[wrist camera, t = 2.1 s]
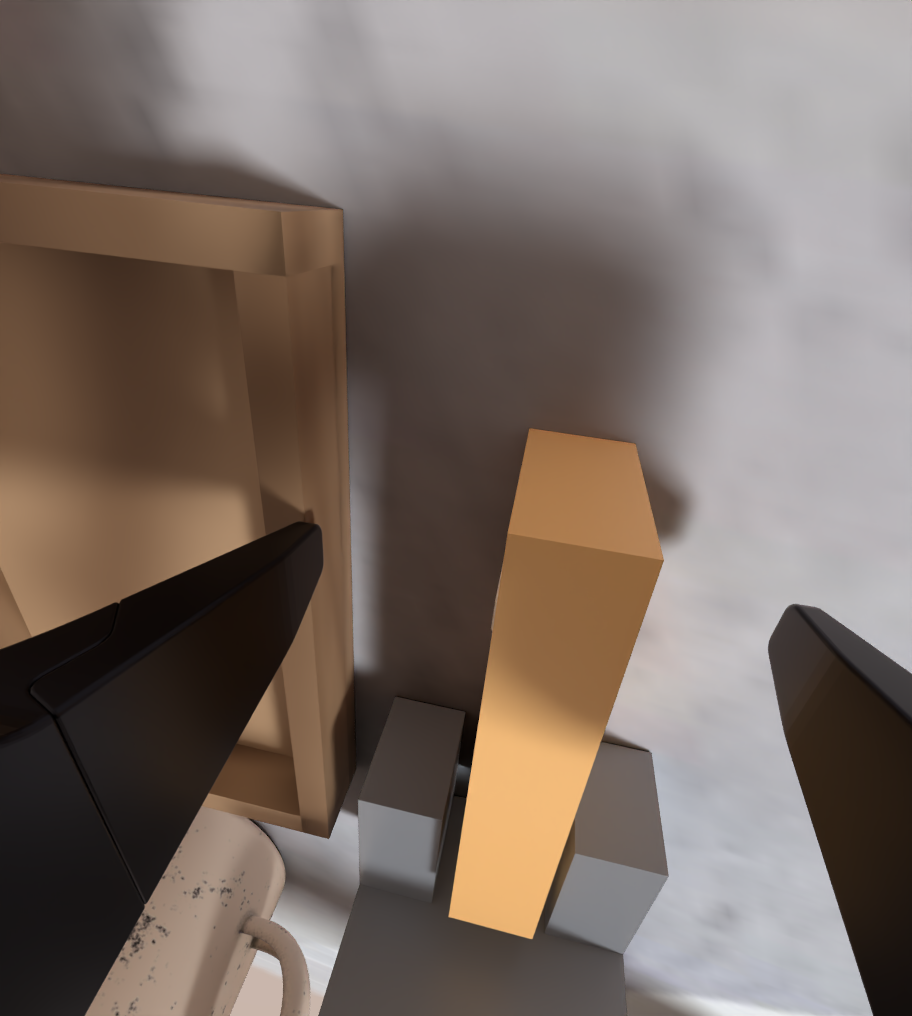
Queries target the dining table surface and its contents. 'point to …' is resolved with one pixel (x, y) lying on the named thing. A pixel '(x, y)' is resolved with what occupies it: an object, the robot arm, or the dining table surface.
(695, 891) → the dining table surface
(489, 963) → the grey slotted holder
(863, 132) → the dining table surface
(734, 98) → the dining table surface
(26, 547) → the tray
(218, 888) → the teacup with lid
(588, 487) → the tan elongated block
